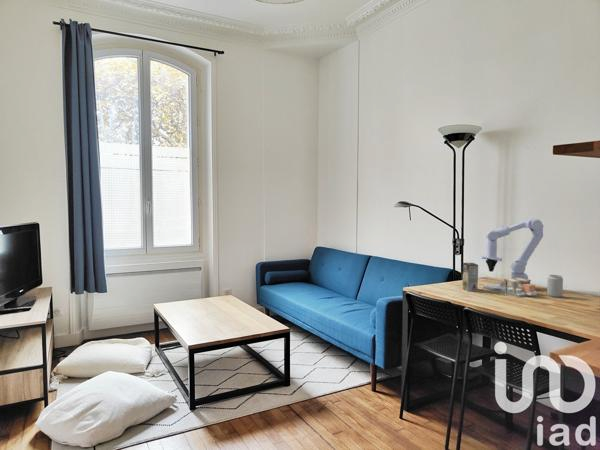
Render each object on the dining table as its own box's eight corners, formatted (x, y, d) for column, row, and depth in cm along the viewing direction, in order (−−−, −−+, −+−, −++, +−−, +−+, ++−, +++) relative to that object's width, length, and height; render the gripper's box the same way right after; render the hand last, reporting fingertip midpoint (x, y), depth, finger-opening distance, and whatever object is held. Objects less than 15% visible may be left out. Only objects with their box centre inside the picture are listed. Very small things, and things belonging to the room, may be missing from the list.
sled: (505, 287, 259) (505, 281, 259) (536, 294, 239) (537, 287, 238) (499, 288, 257) (499, 281, 257) (530, 295, 237) (530, 288, 237)
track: (500, 286, 268) (500, 283, 268) (537, 295, 243) (537, 291, 243) (482, 288, 263) (482, 284, 263) (519, 297, 238) (519, 292, 238)
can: (561, 295, 243) (562, 274, 242) (563, 298, 236) (564, 276, 235) (546, 294, 246) (547, 273, 245) (547, 297, 239) (548, 275, 239)
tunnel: (519, 289, 254) (520, 277, 253) (530, 291, 247) (530, 279, 247) (503, 291, 249) (504, 279, 249) (513, 293, 242) (514, 281, 242)
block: (528, 291, 243) (528, 283, 243) (534, 292, 239) (535, 285, 239) (522, 292, 242) (522, 284, 242) (529, 293, 238) (529, 285, 238)
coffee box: (461, 288, 263) (462, 262, 262) (472, 288, 263) (472, 262, 262) (467, 291, 254) (467, 264, 253) (478, 291, 254) (478, 264, 253)
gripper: (478, 249, 275) (477, 270, 275) (496, 251, 261) (495, 273, 262) (486, 248, 277) (485, 269, 278) (504, 251, 264) (504, 272, 265)
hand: (491, 271), depth 270 cm, fingers closed
